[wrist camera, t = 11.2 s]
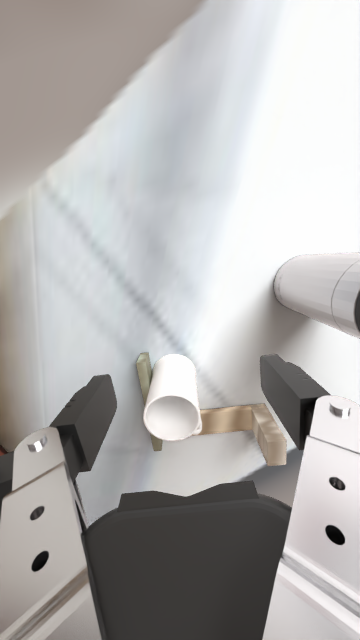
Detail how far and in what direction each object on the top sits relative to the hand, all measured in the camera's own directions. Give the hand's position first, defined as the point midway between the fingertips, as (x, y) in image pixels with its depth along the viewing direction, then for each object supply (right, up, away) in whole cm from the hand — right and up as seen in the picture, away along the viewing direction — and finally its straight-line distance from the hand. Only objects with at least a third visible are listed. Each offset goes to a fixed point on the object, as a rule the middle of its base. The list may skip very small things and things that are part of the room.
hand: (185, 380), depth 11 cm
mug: (-1, -9, +30) cm, 31 cm away
